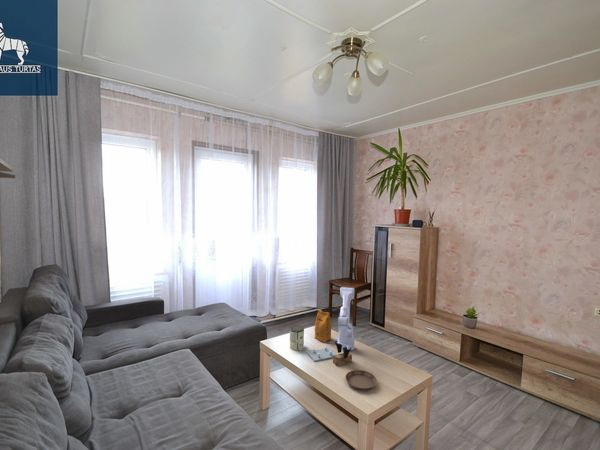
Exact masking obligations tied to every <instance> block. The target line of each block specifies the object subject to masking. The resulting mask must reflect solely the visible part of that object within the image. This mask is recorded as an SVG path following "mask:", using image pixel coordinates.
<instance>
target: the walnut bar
mask: <svg viewBox="0 0 600 450" xmlns="http://www.w3.org/2000/svg"><path fill="white" fill-rule="evenodd" d="M336 354H337V355H333V358H332V363H333V364H334V365H335V367H336V366H340V365H341V366H342V365H345V364H349V363H352V362H353V354H351V352H349V354H348V357H347V358H344V352H343V353H342V352H341V353H336Z"/></svg>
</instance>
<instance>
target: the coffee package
mask: <svg viewBox="0 0 600 450" xmlns="http://www.w3.org/2000/svg"><path fill="white" fill-rule="evenodd" d="M330 315H331V313H330V312H327V311H323V310H321V309H318V311H317V315H316V319H315V323H314V324H315V326H314V339H317V340H318V341H319V342H322V343H326V342H328V341H330V340H331V339H332V323H333V322H332V319H331V316H330Z"/></svg>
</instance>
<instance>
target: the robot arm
mask: <svg viewBox="0 0 600 450" xmlns="http://www.w3.org/2000/svg"><path fill="white" fill-rule="evenodd" d="M339 290H340V291H339V295H340V298H341V299H342V306H341V307H340V310H339V311H340V312H339V316H338V318H337V325H338V336H336V337H335V340H336V341H334V343H335V346H336V350H337V354H342V352H343V353H344V358H347V357H348V354H349V353H351V351H354V350H356V349H355V337H354V325H353V324H352V323H350V318H351V317H350V315H351V301H352V300H354V298H355V287H346V286H345V287H344V286H341V287H340V288H339Z"/></svg>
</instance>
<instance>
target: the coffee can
mask: <svg viewBox="0 0 600 450" xmlns="http://www.w3.org/2000/svg"><path fill="white" fill-rule="evenodd" d="M304 335H305V327H304V326H302V325H300V324H299V325H296V324H295V325H291V326H290V327H289V349H290V350H292V351H300V350H301V351H302V350H303V349H304V348H305V347H304V346H305V344H304V343H305V342H304V341H305V340H304V337H305V336H304Z"/></svg>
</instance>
